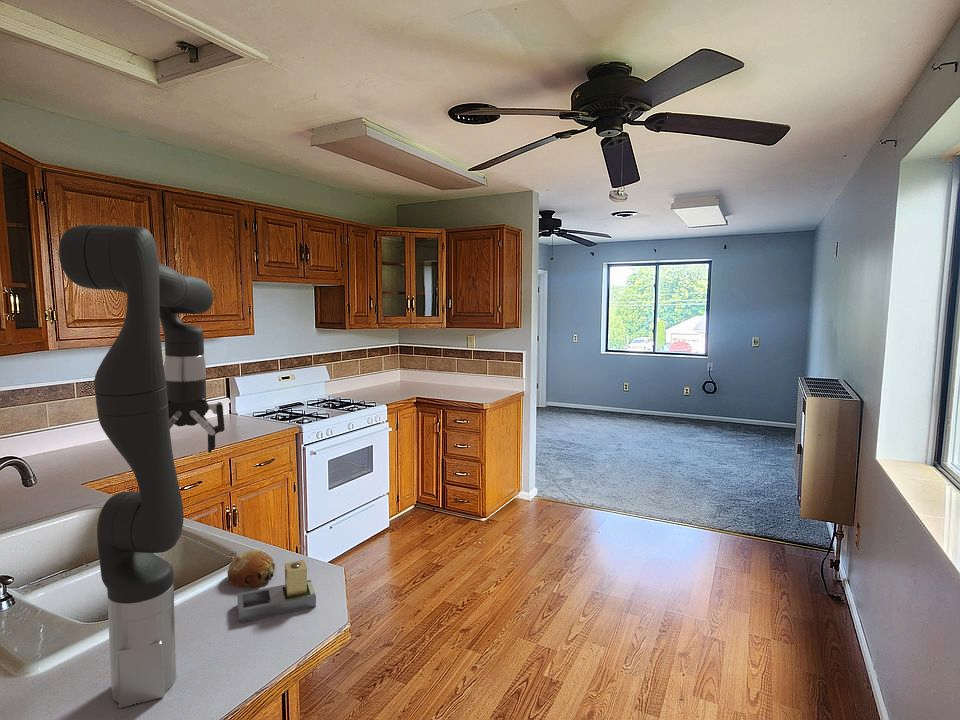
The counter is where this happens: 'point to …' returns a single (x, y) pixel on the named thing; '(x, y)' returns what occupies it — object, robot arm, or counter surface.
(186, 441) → the counter surface
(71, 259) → the robot arm
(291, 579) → the tall beige wooden block
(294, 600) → the grey block holder
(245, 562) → the bread roll
